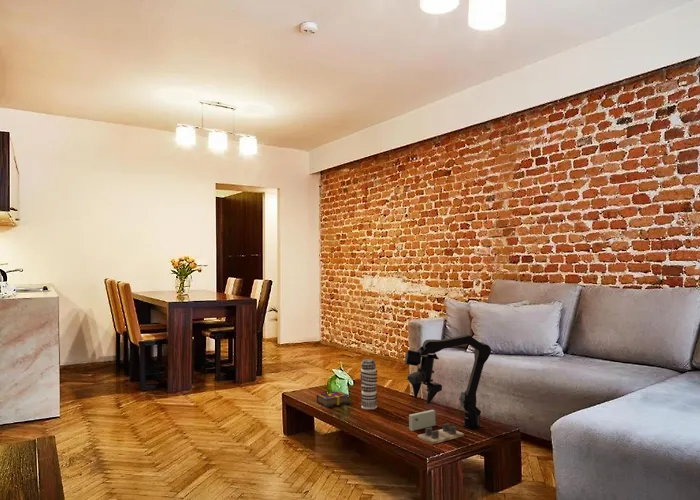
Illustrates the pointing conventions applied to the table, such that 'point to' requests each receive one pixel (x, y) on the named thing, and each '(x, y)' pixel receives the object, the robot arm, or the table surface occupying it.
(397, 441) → the table surface
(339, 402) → the decorative book
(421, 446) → the table surface
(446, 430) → the hinge base
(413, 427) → the door panel
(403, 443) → the table surface
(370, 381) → the tower model
